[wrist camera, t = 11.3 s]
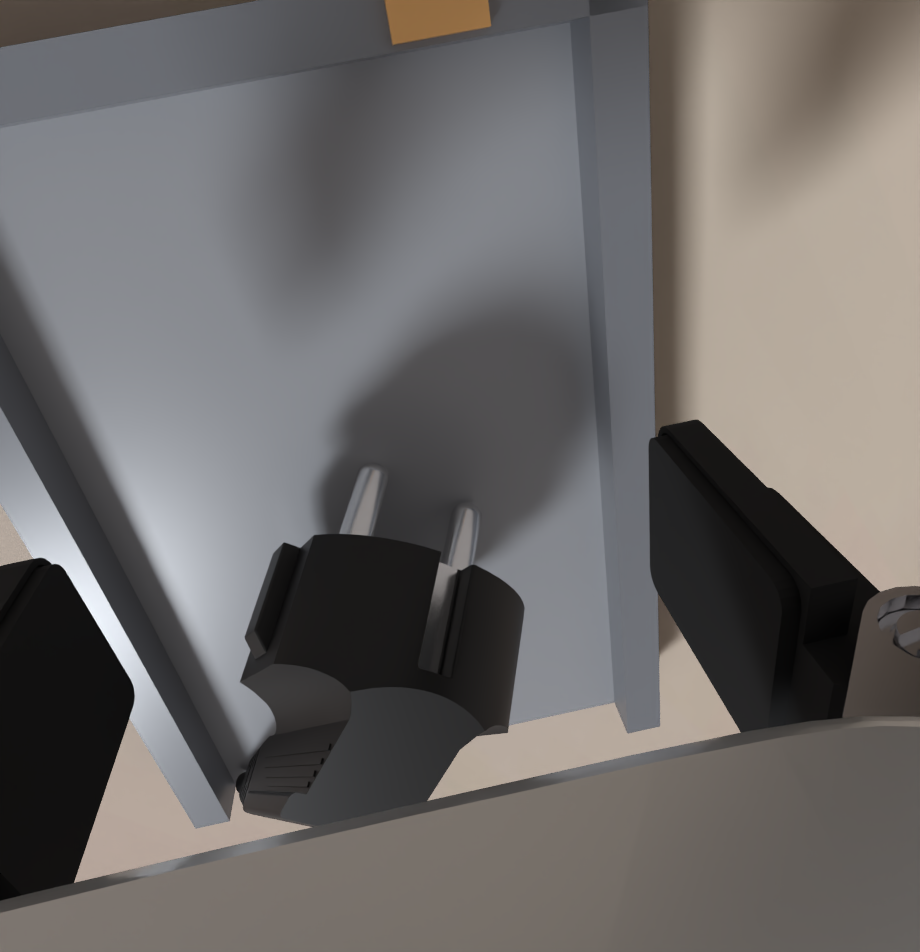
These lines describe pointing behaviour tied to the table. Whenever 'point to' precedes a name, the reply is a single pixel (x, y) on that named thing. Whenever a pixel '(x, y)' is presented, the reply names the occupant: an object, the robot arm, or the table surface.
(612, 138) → the dock
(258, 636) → the power plug
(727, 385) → the table surface
